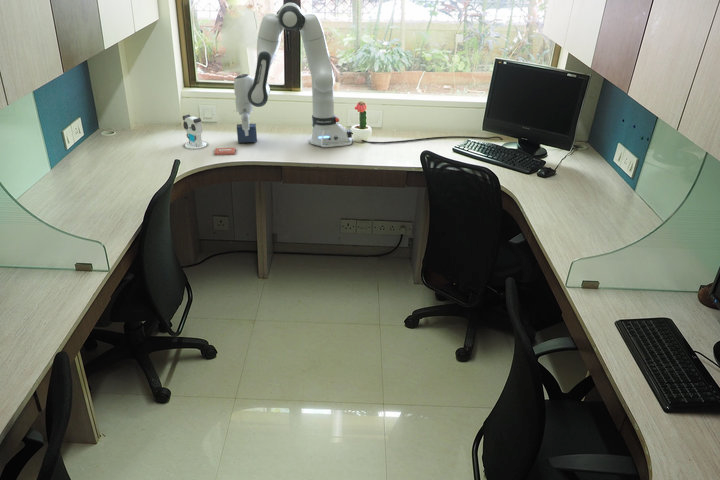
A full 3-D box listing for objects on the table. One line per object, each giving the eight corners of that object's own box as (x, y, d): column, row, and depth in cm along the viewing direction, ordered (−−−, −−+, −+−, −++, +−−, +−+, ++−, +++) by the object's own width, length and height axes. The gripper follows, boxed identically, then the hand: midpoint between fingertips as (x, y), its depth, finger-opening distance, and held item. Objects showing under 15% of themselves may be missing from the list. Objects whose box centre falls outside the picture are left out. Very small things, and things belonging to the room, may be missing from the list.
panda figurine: (179, 145, 326) (175, 116, 317) (197, 140, 332) (194, 112, 324) (193, 150, 319) (189, 121, 310) (211, 145, 326) (207, 116, 317)
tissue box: (256, 138, 333) (255, 122, 328) (257, 141, 328) (255, 125, 323) (238, 139, 332) (236, 123, 327) (238, 142, 327) (236, 126, 322)
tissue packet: (235, 149, 320) (234, 147, 319) (234, 154, 314) (234, 151, 313) (215, 150, 319) (215, 147, 318) (215, 155, 313) (214, 152, 312)
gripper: (250, 112, 312) (252, 139, 319) (250, 101, 329) (252, 127, 336) (238, 113, 311) (240, 139, 319) (238, 102, 328) (241, 127, 336)
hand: (246, 133), depth 328 cm, fingers closed on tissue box, 6 cm apart
